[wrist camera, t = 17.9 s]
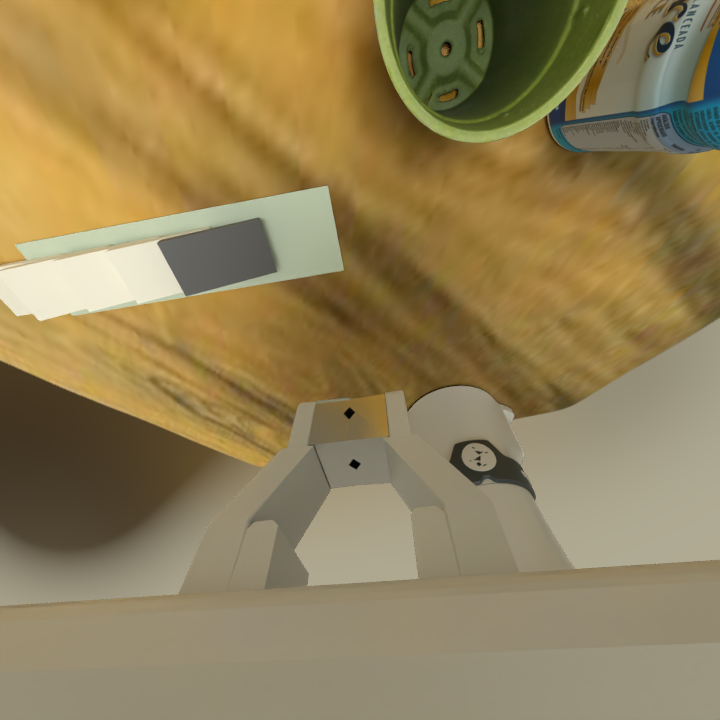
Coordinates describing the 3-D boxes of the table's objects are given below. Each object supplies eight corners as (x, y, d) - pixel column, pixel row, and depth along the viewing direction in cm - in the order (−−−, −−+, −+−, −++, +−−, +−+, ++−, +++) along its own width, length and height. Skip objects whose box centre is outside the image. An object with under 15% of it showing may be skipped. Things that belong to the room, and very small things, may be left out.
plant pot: (333, 51, 22) (316, -32, 13) (468, -143, 17) (598, -496, 8) (426, 183, 27) (464, 193, 17) (551, 58, 22) (692, -18, 13)
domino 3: (184, 287, 30) (89, 312, 29) (186, 283, 32) (95, 306, 30) (157, 237, 28) (50, 261, 26) (161, 235, 29) (59, 257, 27)
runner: (344, 269, 32) (344, 270, 31) (73, 315, 34) (72, 316, 34) (327, 185, 27) (327, 185, 27) (16, 244, 29) (14, 244, 29)
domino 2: (137, 295, 31) (39, 321, 29) (140, 290, 32) (47, 315, 30) (105, 247, 28) (-5, 272, 26) (111, 244, 29) (6, 267, 27)
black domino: (277, 271, 30) (185, 296, 28) (275, 268, 31) (187, 291, 29) (259, 219, 27) (156, 242, 25) (258, 217, 28) (160, 239, 26)
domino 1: (92, 303, 31) (17, 316, 32) (103, 297, 32) (30, 309, 33) (57, 256, 28) (-26, 271, 29) (70, 251, 30) (-9, 266, 30)
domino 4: (231, 279, 30) (137, 303, 28) (231, 275, 31) (142, 298, 30) (208, 228, 27) (103, 252, 26) (210, 226, 28) (110, 248, 27)
